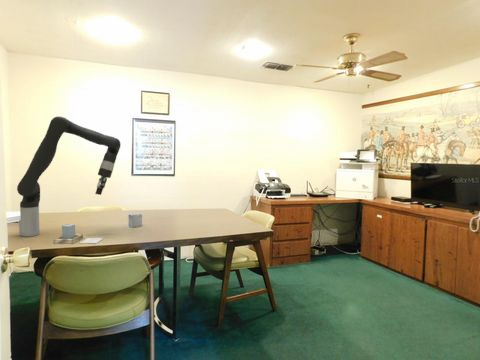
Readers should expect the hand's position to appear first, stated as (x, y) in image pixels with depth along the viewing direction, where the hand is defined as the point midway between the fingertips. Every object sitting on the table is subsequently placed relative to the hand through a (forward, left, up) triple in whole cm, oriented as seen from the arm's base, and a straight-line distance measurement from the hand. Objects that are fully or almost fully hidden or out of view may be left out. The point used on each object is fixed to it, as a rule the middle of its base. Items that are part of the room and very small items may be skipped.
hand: (98, 194), depth 184 cm
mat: (+2, -13, -25) cm, 28 cm away
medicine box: (+16, +23, -26) cm, 38 cm away
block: (-11, -13, -25) cm, 31 cm away
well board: (-11, -13, -25) cm, 31 cm away
